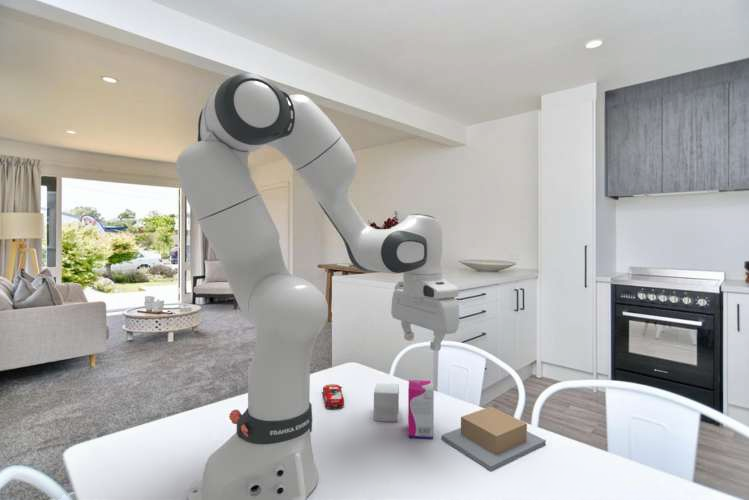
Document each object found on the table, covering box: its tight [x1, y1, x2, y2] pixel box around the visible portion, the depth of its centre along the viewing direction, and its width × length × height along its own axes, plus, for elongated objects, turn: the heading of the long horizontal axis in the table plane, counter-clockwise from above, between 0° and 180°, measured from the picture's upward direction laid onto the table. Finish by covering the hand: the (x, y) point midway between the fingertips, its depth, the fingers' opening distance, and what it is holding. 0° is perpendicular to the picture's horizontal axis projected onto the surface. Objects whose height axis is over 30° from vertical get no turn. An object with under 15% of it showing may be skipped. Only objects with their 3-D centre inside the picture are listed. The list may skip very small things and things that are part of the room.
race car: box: [322, 383, 345, 409], centre depth 109 cm, size 13×5×4 cm, turn 10°
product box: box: [373, 383, 400, 423], centre depth 99 cm, size 6×6×7 cm
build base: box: [440, 406, 547, 472], centre depth 87 cm, size 18×14×5 cm
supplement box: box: [407, 379, 435, 440], centre depth 91 cm, size 6×6×12 cm
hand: (421, 344), depth 91 cm, fingers open, 8 cm apart
